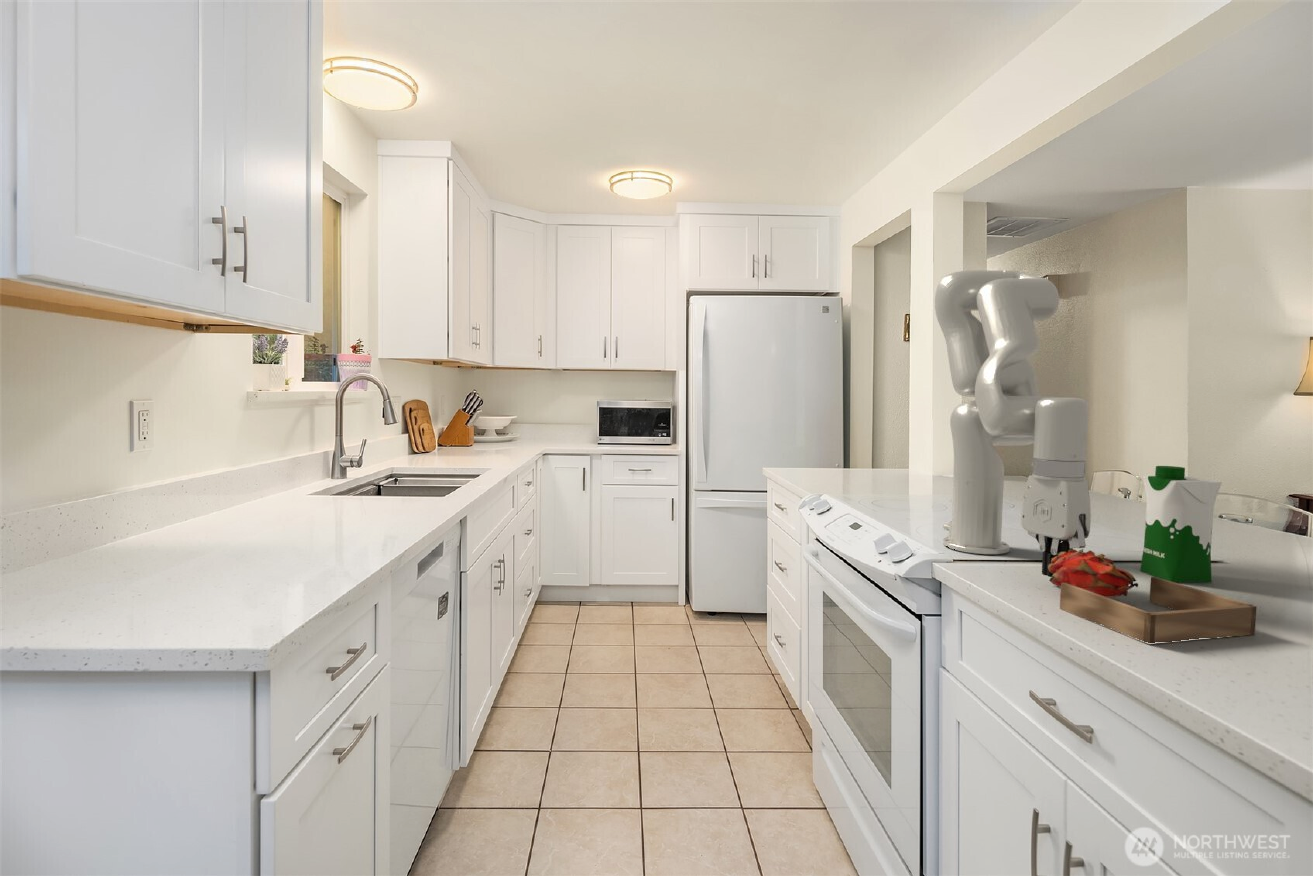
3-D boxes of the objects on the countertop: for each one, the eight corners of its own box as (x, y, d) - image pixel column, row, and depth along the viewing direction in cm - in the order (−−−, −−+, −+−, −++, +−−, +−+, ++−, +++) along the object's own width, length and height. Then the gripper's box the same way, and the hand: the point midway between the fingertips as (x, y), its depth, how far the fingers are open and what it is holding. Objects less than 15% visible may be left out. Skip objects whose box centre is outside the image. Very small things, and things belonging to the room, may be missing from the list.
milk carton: (1131, 569, 114) (1137, 464, 112) (1180, 570, 113) (1187, 464, 112) (1169, 584, 105) (1177, 470, 103) (1222, 584, 105) (1231, 470, 103)
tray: (1059, 608, 92) (1061, 583, 92) (1153, 601, 96) (1155, 576, 96) (1149, 645, 79) (1151, 615, 79) (1254, 635, 82) (1256, 606, 82)
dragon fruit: (1040, 597, 102) (1127, 625, 95) (1038, 578, 97) (1131, 606, 89) (1054, 553, 105) (1141, 577, 97) (1053, 532, 99) (1145, 555, 91)
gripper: (1006, 465, 109) (1001, 564, 111) (1078, 476, 95) (1072, 590, 96) (1041, 464, 111) (1036, 562, 112) (1118, 475, 96) (1111, 587, 97)
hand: (1053, 575), depth 104 cm, fingers closed
